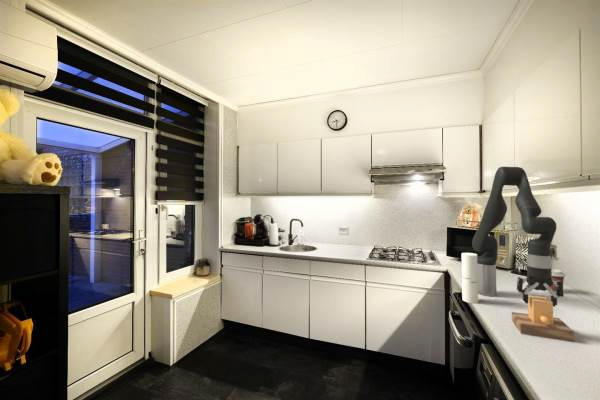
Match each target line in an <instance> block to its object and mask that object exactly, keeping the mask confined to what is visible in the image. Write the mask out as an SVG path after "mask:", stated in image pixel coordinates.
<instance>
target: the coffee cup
mask: <svg viewBox="0 0 600 400" xmlns="http://www.w3.org/2000/svg"><path fill="white" fill-rule="evenodd" d="M565 278H566V274H565V273H564V272H563V271H562V270H561V269H555V268H552V281H556V280H559V281H560V282H562V283H563V284H564V280H565ZM550 288H551V289H552V290H553V291H554V293H557V289H556V286H555V285H554V284H553V285H552V286H551V287H550Z"/></svg>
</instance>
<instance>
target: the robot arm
mask: <svg viewBox="0 0 600 400" xmlns="http://www.w3.org/2000/svg"><path fill="white" fill-rule="evenodd" d="M504 186H510V187H511V186H512V187H513V186H516V188H517V189H518V192H517V194H516V196H515V200H514V201H515V206H516V207H517V210H518V211H519V214H520V219H521V228H522V231H524V232H525V233H526V234H528V235H539V237H537V238H533V239H530V240H528V241H527V255H526V278H525V277H521V276H518V277H517V279H516V280H517V281H516V290H517V292H519V293H522V300H523V301H522V302H524V303H525V304H526V305H527V304H528V295H529V294H530V293H531V292H532V291H533V290H534V291H542V292H543V291H544V292H546V291H547V292H548V293H549V294H550V301H551V302H553V308H554V307H555V308H556V306H557V305H558V298H560V297H561V298H562V297H564V295H565V294H564V282H563V283H562V282H560V281H559V280H556V281H552V269H553V268H552V266H553V264H552V257H551V256H552V255H551V253H552V252H551V251H552V249H551V246H552V242H553V239H554V236H555V234H556V232H557V223H556V221H555V220H554V218H552V217H549V216H540V215H541V214H542V209H541V206H540V205H539V203H538V201H537V199H536V198H535V197H534V194H533V191H532V188H531V184H530V182H529V178H528V175H527V173H526V171H525V169H523V167H520V166H500V167H498V168H497V170H495V174H494V177H493V181H492V184H491V190H490V194H489V198H488V199H487V203H486V206H485V208H484V211H483V213H482V217H481V220H480V223H479V226H478V227H477V229H476V232H475V233H474V236H473V237H472V241H471V243H472V245H471V246H472V248H473V250H474V251H475V252H480V253H483V252H484V253H483V254H482V255H479V256H477V265H478V295H482V296H487V297H497V259H498V240H497V238H496V237H495V236H494V235H489V234H490V232H492V231H493V230H494V229H496V228H497V227H498V226H499V225H500V224H501V223H502V222H503V221H504V219H505V217H506V215H507V212H508V207H507V203H506V201H505V199H504V196H503V189H504ZM525 282H526V283H527V284H526V285H525V287H524V288H523V285H524V284H525ZM553 284H554V285H555V286H556V289H557V293H554V291H553V290H552V289H551V288H550V287H551V286H552V285H553Z"/></svg>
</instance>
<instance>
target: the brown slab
mask: <svg viewBox="0 0 600 400" xmlns="http://www.w3.org/2000/svg"><path fill="white" fill-rule="evenodd" d="M511 321H512V323H513V325H514V326H515V328H516V329H517V330H518V331H519V333H520V334H521V335H527V336H535V337H541V338H547V339H554V340H560V341H565V342H575V331H574V330H573V329H572V328H571V327H570V326H569V325H568V324H566V323H565V322H564V321H563V320H562V319H561V318H560V317H554V316H553V325H546V324H539V323H534V322H533V321H532V320H531V319H530V318H529V314H528V313H523V312H515V311H514V312H513V311H511Z"/></svg>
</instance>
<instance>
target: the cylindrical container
mask: <svg viewBox="0 0 600 400" xmlns="http://www.w3.org/2000/svg"><path fill="white" fill-rule="evenodd" d="M477 257H478V254H477V253H473V252H462V253H461V291H462V292H461V293H462V294H461V297H462V301H463V302H465V303H468V304H477V303H479V293H478V265H477Z"/></svg>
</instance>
